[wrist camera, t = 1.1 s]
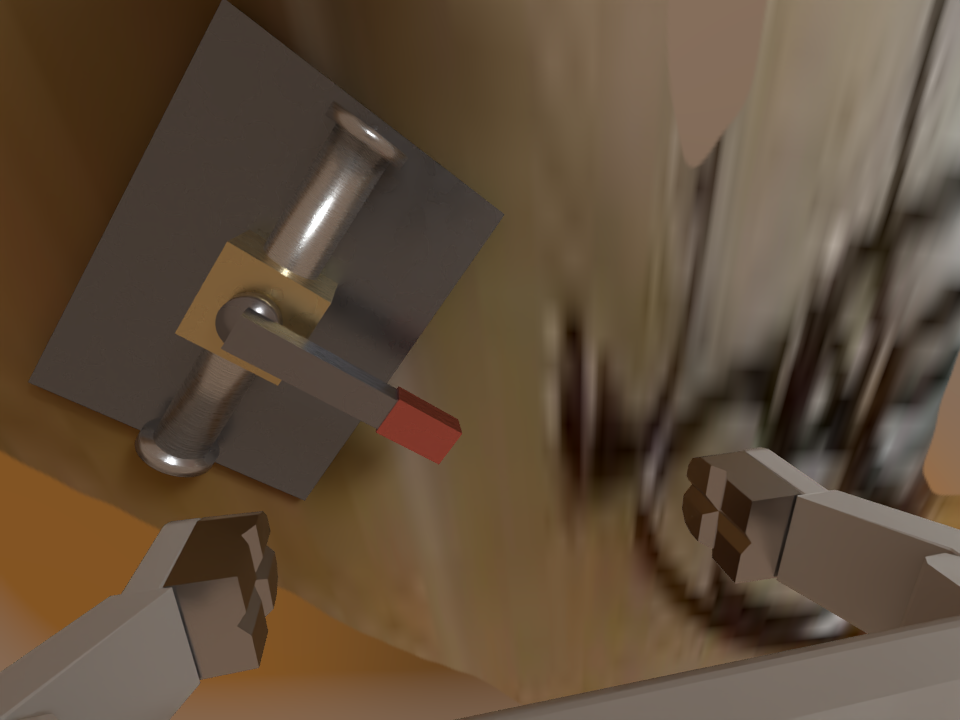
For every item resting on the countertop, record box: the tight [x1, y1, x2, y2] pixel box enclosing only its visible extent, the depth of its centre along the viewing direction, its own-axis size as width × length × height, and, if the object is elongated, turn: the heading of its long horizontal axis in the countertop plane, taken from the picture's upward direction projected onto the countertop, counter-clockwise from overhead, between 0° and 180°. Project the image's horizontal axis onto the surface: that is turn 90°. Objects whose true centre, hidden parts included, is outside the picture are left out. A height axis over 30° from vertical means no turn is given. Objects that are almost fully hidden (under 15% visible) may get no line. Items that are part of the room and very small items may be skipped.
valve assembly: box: [28, 0, 504, 500], centre depth 35 cm, size 30×22×7 cm
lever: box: [215, 292, 462, 464], centre depth 33 cm, size 17×4×4 cm, turn 54°
